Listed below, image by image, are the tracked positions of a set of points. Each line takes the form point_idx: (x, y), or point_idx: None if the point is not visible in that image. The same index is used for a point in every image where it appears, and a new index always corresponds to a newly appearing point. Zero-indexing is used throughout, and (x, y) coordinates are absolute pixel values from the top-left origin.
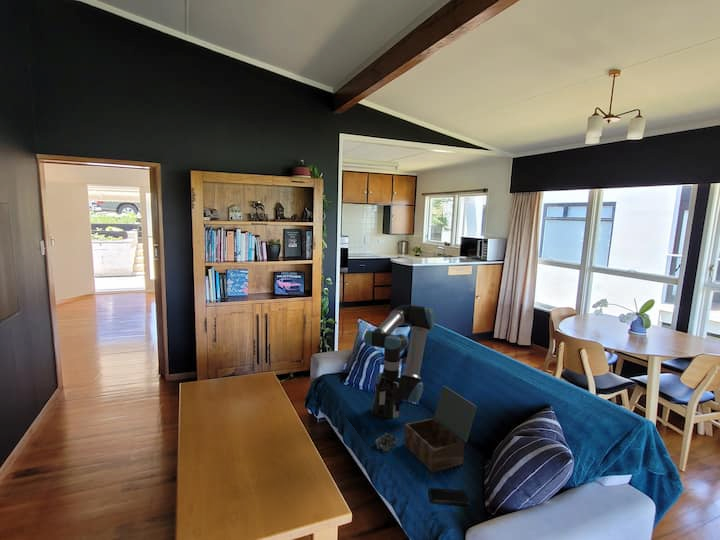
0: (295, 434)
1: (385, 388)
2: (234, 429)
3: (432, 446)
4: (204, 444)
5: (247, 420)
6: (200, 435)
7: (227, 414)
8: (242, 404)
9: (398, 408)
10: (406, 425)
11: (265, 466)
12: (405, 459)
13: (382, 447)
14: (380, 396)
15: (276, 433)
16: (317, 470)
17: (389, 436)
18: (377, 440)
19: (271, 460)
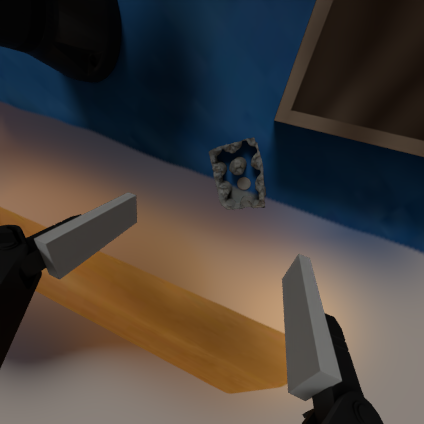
0: (126, 269)
1: (2, 292)
2: (97, 300)
3: (410, 6)
4: (119, 327)
5: (80, 282)
6: (102, 320)
7: (64, 285)
8: None
9: (341, 353)
10: (291, 124)
11: (180, 329)
12: (334, 183)
13: (246, 197)
14: (91, 255)
15: (117, 282)
16: (223, 310)
17: (226, 151)
18: (223, 200)
19: (172, 320)
